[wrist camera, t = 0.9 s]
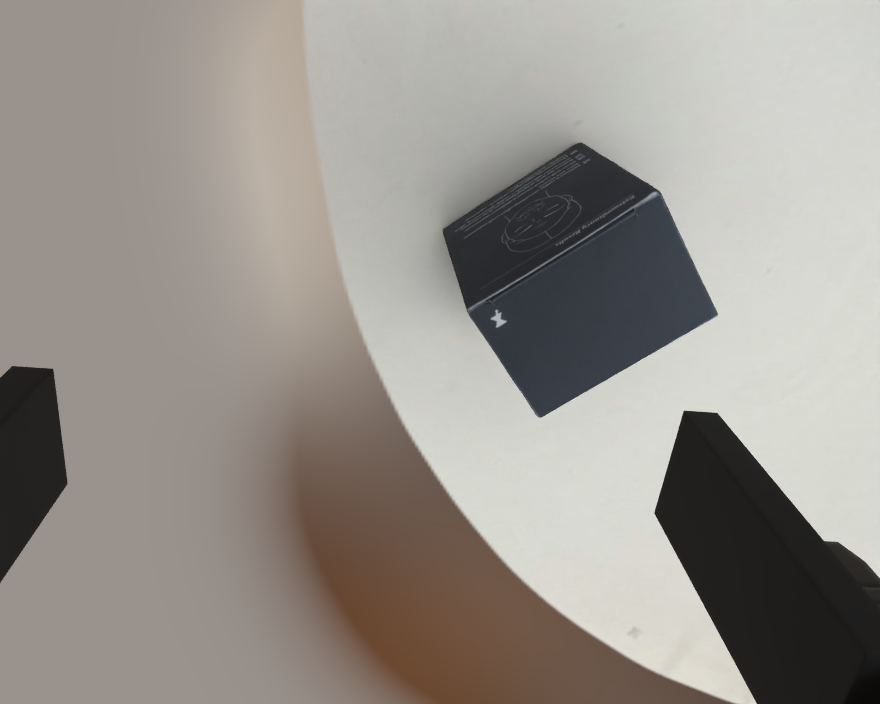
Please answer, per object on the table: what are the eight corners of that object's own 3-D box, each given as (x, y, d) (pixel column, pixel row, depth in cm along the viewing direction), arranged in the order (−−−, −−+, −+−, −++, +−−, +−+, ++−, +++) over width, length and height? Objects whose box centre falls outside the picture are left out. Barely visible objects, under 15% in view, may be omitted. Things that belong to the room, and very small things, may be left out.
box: (498, 317, 37) (537, 424, 28) (439, 228, 35) (460, 309, 25) (634, 236, 36) (725, 318, 26) (582, 137, 33) (661, 187, 24)
